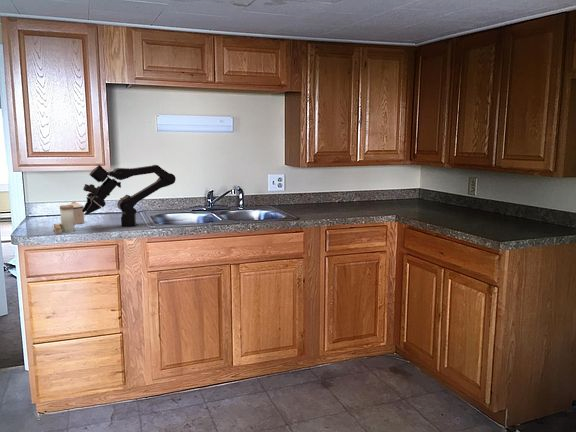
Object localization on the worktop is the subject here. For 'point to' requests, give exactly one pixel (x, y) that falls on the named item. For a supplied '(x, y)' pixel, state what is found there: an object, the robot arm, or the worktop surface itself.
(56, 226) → the stand
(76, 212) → the beige lidded jar
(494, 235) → the worktop surface
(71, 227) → the tea canister
